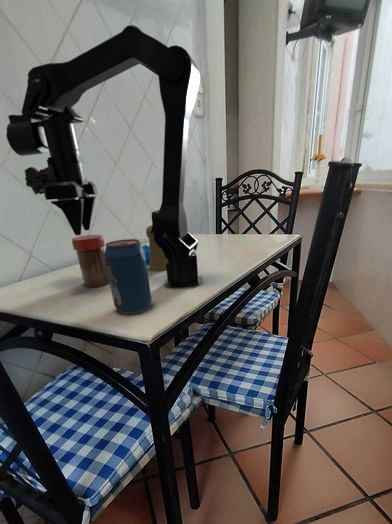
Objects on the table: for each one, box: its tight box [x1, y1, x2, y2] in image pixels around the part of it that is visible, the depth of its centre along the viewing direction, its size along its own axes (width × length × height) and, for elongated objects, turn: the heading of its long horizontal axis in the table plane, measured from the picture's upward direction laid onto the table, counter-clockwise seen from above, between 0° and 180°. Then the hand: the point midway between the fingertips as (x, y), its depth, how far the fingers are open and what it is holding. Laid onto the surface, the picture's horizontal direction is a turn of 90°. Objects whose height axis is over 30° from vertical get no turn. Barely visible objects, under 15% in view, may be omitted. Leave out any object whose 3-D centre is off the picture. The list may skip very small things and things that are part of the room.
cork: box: [145, 224, 168, 272], centre depth 83 cm, size 6×6×11 cm
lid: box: [71, 234, 106, 252], centre depth 72 cm, size 7×7×2 cm
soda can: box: [104, 238, 152, 315], centre depth 56 cm, size 7×7×12 cm
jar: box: [75, 247, 110, 288], centre depth 74 cm, size 6×6×10 cm
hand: (82, 232), depth 71 cm, fingers open, 7 cm apart
